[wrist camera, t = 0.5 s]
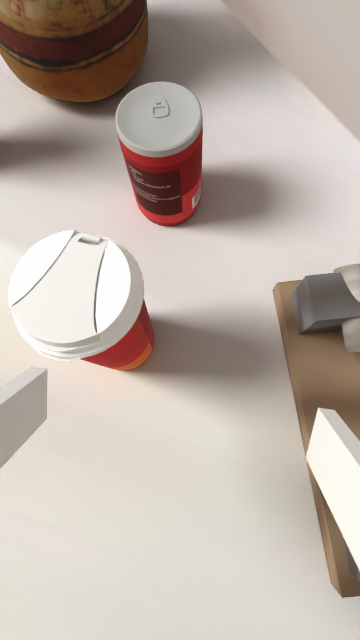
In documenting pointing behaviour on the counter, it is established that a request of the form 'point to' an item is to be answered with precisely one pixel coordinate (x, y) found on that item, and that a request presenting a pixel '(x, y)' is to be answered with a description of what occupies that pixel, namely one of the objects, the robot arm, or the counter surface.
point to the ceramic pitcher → (74, 45)
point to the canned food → (162, 149)
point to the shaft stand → (325, 380)
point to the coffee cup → (82, 301)
